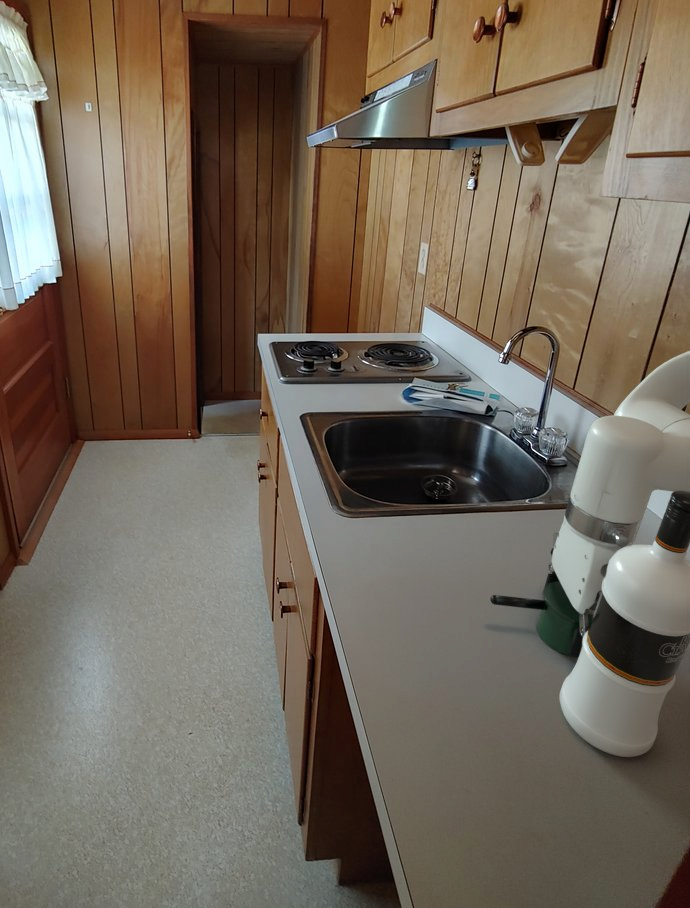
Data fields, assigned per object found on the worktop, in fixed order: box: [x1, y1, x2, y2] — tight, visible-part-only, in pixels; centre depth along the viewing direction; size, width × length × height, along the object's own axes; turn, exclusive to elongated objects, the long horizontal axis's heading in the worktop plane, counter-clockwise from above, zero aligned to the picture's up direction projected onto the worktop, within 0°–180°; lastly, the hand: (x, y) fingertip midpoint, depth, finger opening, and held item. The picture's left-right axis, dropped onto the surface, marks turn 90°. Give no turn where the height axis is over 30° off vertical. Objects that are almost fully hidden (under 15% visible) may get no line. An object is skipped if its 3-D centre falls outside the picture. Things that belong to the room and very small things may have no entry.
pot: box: [489, 581, 597, 657], centre depth 72 cm, size 14×7×6 cm, turn 83°
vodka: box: [558, 491, 690, 758], centre depth 56 cm, size 9×9×30 cm
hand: (567, 625), depth 72 cm, fingers open, 9 cm apart
